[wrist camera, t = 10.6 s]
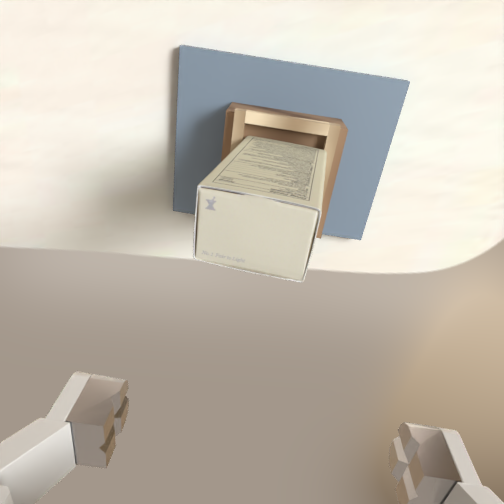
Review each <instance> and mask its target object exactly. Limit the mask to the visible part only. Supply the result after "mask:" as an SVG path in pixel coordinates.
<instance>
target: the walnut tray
mask: <svg viewBox="0 0 504 504" xmlns="http://www.w3.org/2000/svg"><path fill="white" fill-rule="evenodd" d="M347 133H348V129H347V127H346V126H345V124H344V122H343V121H342V119H338V118H331V117H325V116H318V115H312V114H306V113H299V112H293V111H287V110H280V109H274V108H268V107H261V106H255V105H249V104H242V103H236V102H232V103H231V105H230V106H229V107H228V109H227V110H226V116H225V126H224V136H223V146H222V156H221V162H222V161H223V160H224V159H225V158H226V157H227V156H228V155H229V154H230V153H231V152H232V151H233V150H234V149H235V148H236V147H237V146H238V145H239V144H240V143H241V142H242V141H243V140H244V139H245V138H246V137H247V136H254V137H260V138H267V139H272V140H278V141H283V142H288V143H293V144H298V145H303V146H308V147H313V148H317V149H322V150H325V151H326V152H327V157H326V167H325V179H324V189H323V200H322V213H321V218H320V222H319V227H318V231H317V235H316V238H321V235H322V231H323V228H324V224H325V220H326V216H327V212H328V208H329V204H330V200H331V196H332V192H333V188H334V184H335V180H336V176H337V172H338V168H339V164H340V160H341V156H342V153H343V149H344V145H345V141H346V137H347Z"/></svg>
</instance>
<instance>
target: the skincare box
mask: <svg viewBox="0 0 504 504" xmlns="http://www.w3.org/2000/svg"><path fill="white" fill-rule="evenodd" d="M326 157H327V152H326V151H325V150H322V149H317V148H313V147H308V146H303V145H298V144H293V143H288V142H283V141H278V140H272V139H267V138H260V137H254V136H247V137H246V138H245V139H244V140H243V141H242V142H241V143H240V144H239V145H238V146H237V147H236V148H235V149H234V150H233V151H232V152H231V153H230V154H229V155H228V156H227V157H226V158H225V159H224V160H223V161H222V162H221V163H220V164H219V165H218V166H217V167H216V168H215V169H214V170H213V171H212V172H211V173H210V174H209V175H208V176H207V177H206V178H205V179H204V180H203V181H201V182H200V183H199V184H198V186H197V197H196V209H195V224H194V239H193V257H194V259H196V260H199V261H203V262H206V263H211V264H214V265H219V266H223V267H227V268H233V269H236V270H241V271H247V272H252V273H255V274H261V275H265V276H270V277H275V278H280V279H285V280H289V281H295V282H303V281H304V279H305V275H306V271H307V268H308V265H309V261H310V258H311V254H312V250H313V247H314V243H315V239H316V235H317V231H318V227H319V222H320V218H321V213H322V200H323V189H324V179H325V167H326Z"/></svg>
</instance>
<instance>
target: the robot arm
mask: <svg viewBox="0 0 504 504" xmlns="http://www.w3.org/2000/svg"><path fill="white" fill-rule="evenodd" d="M127 391H128V381H127V380H122V379H117V378H112V377H107V376H101V375H96V374H89V373H83V372H75V373H74V374H73V375H72V376H71V377H70V378H69V380H68V382H67V383H66V385H65V387H64V388H63V390H62V391H61V393H60V395H59V396H58V398H57V399H56V401H55V403H54V405H53V406H52V408H51V409H50V411H49V412H48V414H47V416H46V417H45V418H44V419H43V418H38V419H37V420H35V421H34V422H32V423H31V424H29V425H28V426H26V427H24V428H23V429H21V430H20V431H18V432H16V433H15V434H13V435H12V436H10V437H8V438H7V439H5V440H4V441H2V442H0V504H35V503H36V502H37V501H38V500H39V499H40V498H42V497H43V496H44V495H45V494H46V493H47V492H48V491H49V490H50V489H52V488H53V487H54V486H55V485H56V484H57V483H58V482H59V481H60V480H62V479H63V477H65V476H66V475H67V474H68V473H69V472H70V471H72V470H73V469H74V468H75V467H76V465H84V466H91V467H99V468H107V466H108V464H109V461H110V459H111V456H112V454H113V451H114V449H115V446H116V445H115V444H116V443H115V436H117V435H118V434H119V433H121V431H122V429H123V427H124V424H125V421H126V417H127V413H128V407H129V399H128V398H127V396H126V393H127ZM398 432H399V437H397V438H395V439H394V440H393V441H392V443H391V446H390V450H389V464H390V469H391V473H392V475H393V476H394V477H395V478H396V479H397V481H398V485H397V486H396V489H395V490H396V494H397V498H398V502H399V504H504V503H503V502H502V501H501V500H500V499H499V498H498V497H497V496H496V495H495V494H494V493H493V492H492V491H491V490H490V489H489V488H488V487H486V486H482V484H481V482H480V480H479V477H478V475H477V473H476V471H475V468H474V467H473V464H472V462H471V459H470V457H469V455H468V453H467V450H466V448H465V446H464V444H463V441H462V439H461V437H460V435H459V433H458V432H457V431H456V430H450V429H444V428H437V427H433V426H427V425H419V424H411V423H403V424H401V425H400V427H399V429H398Z"/></svg>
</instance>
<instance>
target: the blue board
mask: <svg viewBox="0 0 504 504" xmlns="http://www.w3.org/2000/svg"><path fill="white" fill-rule="evenodd" d="M409 84H410V81H407V80H401V79H395V78H389V77H382V76H376V75H370V74H364V73H357V72H351V71H345V70H338V69H332V68H326V67H319V66H313V65H307V64H300V63H294V62H288V61H281V60H275V59H269V58H262V57H256V56H250V55H243V54H237V53H231V52H224V51H218V50H212V49H205V48H199V47H193V46H186V45H180V51H179V76H178V100H177V124H176V149H175V173H174V198H173V211H178V212H184V213H191V214H195V209H196V197H197V186H198V184H199V183H200V182H201V181H203V180H204V179H205V178H206V177H207V176H208V175H209V174H210V173H211V172H212V171H213V170H214V169H215V168H216V167H217V166H218V165H219V164H220V163H221V156H222V146H223V136H224V126H225V116H226V110H227V109H228V107H229V106H230V105H231V103H232V102H236V103H242V104H249V105H255V106H261V107H268V108H274V109H280V110H287V111H293V112H299V113H306V114H312V115H318V116H325V117H331V118H338V119H342V121H343V122H344V124H345V126H346V127H347V129H348V133H347V137H346V141H345V145H344V149H343V153H342V156H341V160H340V164H339V168H338V172H337V176H336V180H335V184H334V188H333V192H332V196H331V200H330V204H329V208H328V212H327V216H326V220H325V224H324V228H323V231H322V234H325V235H331V236H338V237H344V238H351V239H357V240H361V238H362V235H363V231H364V228H365V225H366V222H367V219H368V215H369V212H370V209H371V206H372V202H373V199H374V196H375V193H376V190H377V186H378V183H379V180H380V177H381V174H382V170H383V167H384V164H385V161H386V157H387V154H388V151H389V148H390V145H391V141H392V138H393V135H394V132H395V129H396V125H397V122H398V119H399V116H400V113H401V109H402V106H403V103H404V100H405V96H406V93H407V90H408V87H409Z"/></svg>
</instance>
